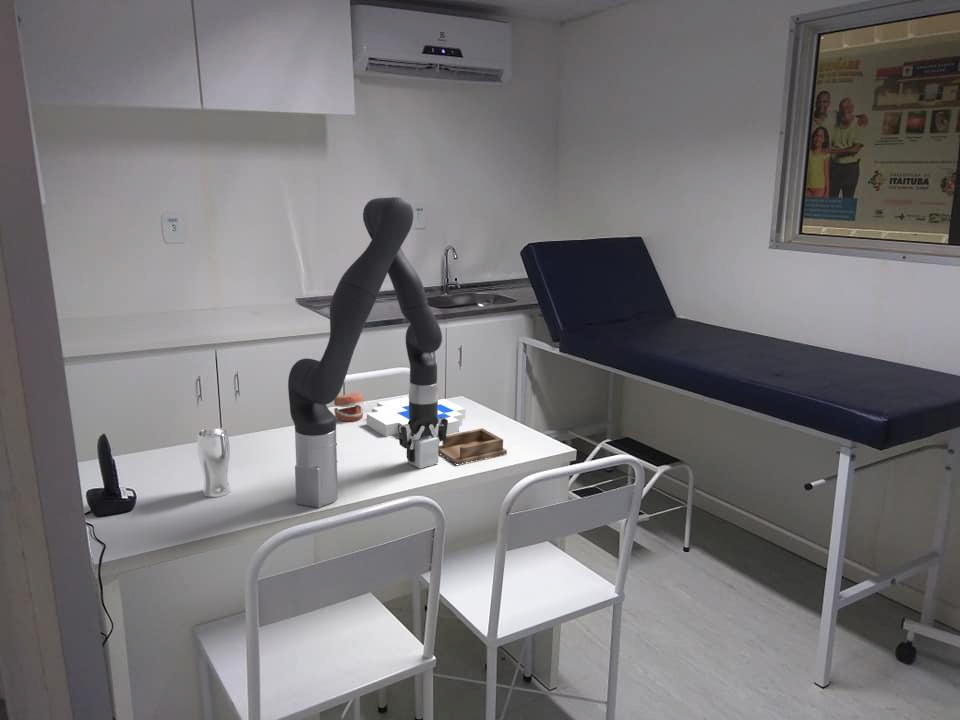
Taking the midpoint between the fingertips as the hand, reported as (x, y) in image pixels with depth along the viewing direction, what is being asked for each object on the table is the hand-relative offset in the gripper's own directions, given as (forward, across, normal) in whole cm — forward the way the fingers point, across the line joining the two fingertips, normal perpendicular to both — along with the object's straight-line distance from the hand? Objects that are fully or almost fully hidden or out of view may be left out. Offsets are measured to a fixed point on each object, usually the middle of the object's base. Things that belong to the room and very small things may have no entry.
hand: (422, 458), depth 193 cm
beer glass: (+1, -51, +9) cm, 52 cm away
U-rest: (+1, +15, 0) cm, 15 cm away
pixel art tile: (+2, +14, +29) cm, 32 cm away
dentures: (+2, -2, +42) cm, 42 cm away
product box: (+1, 0, 0) cm, 1 cm away
